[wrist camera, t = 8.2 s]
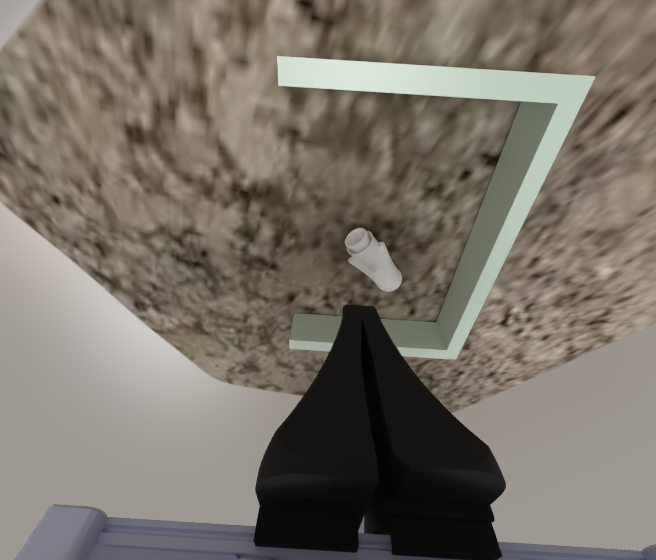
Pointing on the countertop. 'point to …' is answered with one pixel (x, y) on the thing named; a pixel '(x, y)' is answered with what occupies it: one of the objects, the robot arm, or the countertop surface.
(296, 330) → the light green u-shaped bracket
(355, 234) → the small white plastic part
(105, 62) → the countertop surface
